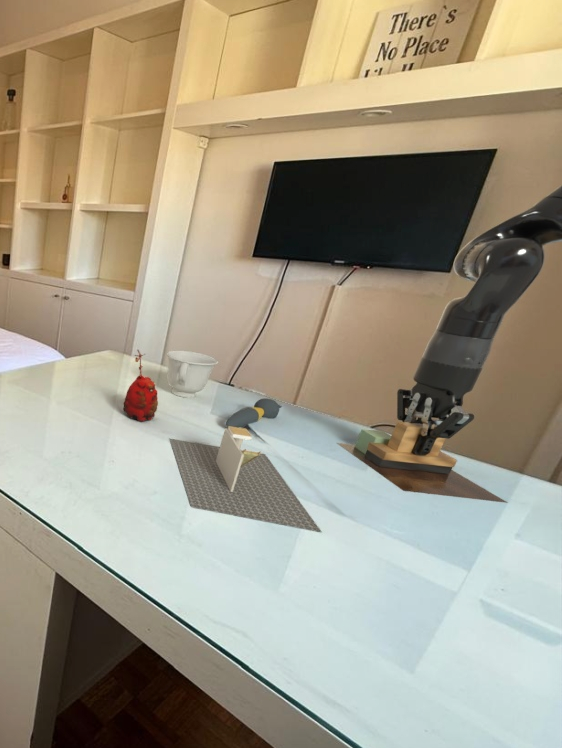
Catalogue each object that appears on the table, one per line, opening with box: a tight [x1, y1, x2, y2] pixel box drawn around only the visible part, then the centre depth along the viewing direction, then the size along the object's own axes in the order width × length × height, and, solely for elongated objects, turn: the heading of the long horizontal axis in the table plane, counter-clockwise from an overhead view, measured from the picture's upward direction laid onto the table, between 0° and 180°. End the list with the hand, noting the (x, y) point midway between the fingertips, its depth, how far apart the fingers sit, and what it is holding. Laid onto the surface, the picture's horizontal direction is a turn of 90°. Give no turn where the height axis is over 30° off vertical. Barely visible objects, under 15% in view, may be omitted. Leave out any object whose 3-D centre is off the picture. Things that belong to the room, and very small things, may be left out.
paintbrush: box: [225, 397, 283, 428], centre depth 101 cm, size 20×5×5 cm, turn 126°
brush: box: [364, 420, 458, 474], centre depth 83 cm, size 12×4×8 cm, turn 84°
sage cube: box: [354, 428, 391, 454], centre depth 88 cm, size 4×4×4 cm
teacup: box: [166, 350, 219, 399], centre depth 115 cm, size 12×15×10 cm
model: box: [215, 426, 262, 492], centre depth 77 cm, size 3×11×8 cm, turn 165°
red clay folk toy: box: [122, 349, 159, 422], centre depth 99 cm, size 8×7×15 cm
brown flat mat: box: [336, 442, 509, 504], centre depth 83 cm, size 16×18×1 cm
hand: (412, 450), depth 83 cm, fingers closed on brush, 2 cm apart
